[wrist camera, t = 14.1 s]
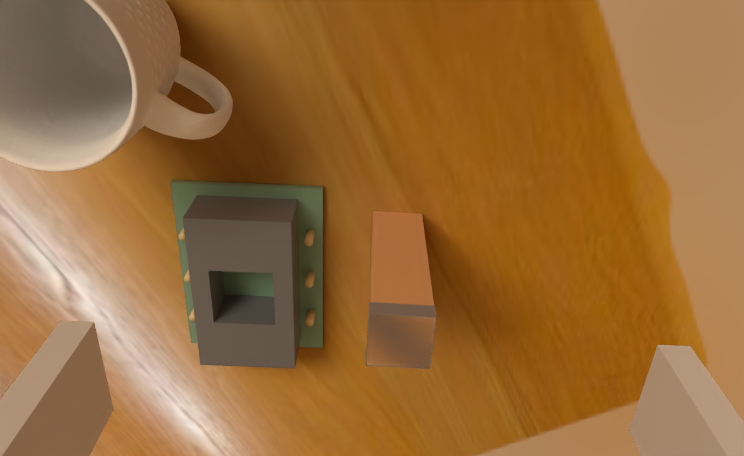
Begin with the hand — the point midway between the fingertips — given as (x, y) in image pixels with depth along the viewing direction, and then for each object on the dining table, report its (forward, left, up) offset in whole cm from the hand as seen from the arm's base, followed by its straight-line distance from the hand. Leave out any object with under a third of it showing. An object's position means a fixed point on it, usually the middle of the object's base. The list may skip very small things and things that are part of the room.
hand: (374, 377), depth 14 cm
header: (+18, -10, -33) cm, 39 cm away
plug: (+14, +2, -33) cm, 36 cm away
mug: (-1, -17, -33) cm, 37 cm away
